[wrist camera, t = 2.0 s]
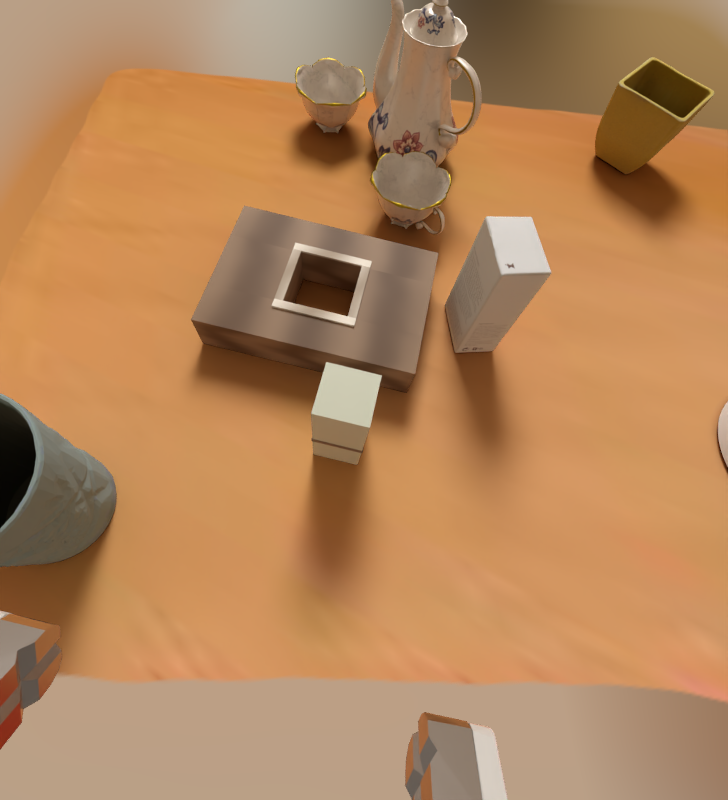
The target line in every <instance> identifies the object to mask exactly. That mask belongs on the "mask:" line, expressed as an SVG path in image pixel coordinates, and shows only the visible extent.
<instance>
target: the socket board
mask: <svg viewBox="0 0 728 800" xmlns="http://www.w3.org/2000/svg"><path fill="white" fill-rule="evenodd" d="M437 258H438V253H436V252H432V251H428V250H424V249H420V248H416V247H412V246H408V245H404V244H400V243H395V242H391V241H387V240H383V239H379V238H375V237H371V236H367V235H363V234H359V233H354V232H350V231H346V230H342V229H338V228H334V227H330V226H326V225H322V224H317V223H313V222H309V221H305V220H301V219H297V218H293V217H289V216H285V215H281V214H276V213H272V212H268V211H264V210H260V209H256V208H252V207H248V206H244V207H243V210H242V212H241V214H240V216H239V218H238V220H237V222H236V225H235V227H234V229H233V231H232V233H231V235H230V237H229V240H228V242H227V244H226V246H225V248H224V250H223V252H222V255H221V257H220V259H219V261H218V263H217V265H216V267H215V270H214V272H213V274H212V276H211V278H210V280H209V282H208V285H207V287H206V289H205V291H204V293H203V295H202V297H201V300H200V302H199V304H198V306H197V308H196V310H195V312H194V315H193V317H192V319H191V320H192V322H193V324H194V326H195V328H196V330H197V332H198V334H199V336H200V338H201V340H202V342H203V343H204V344H208V345H212V346H217V347H221V348H225V349H229V350H233V351H237V352H241V353H245V354H249V355H254V356H258V357H262V358H266V359H270V360H274V361H278V362H282V363H287V364H291V365H295V366H299V367H303V368H307V369H311V370H315V371H319V372H324V368H325V365H326V362H329V363H333V364H337V365H341V366H345V367H349V368H353V369H357V370H362V371H366V372H370V373H374V374H378V375H382V377H381V382H380V386H381V387H385V388H389V389H394V390H398V391H402V392H406V393H407V390H408V388H409V386H410V384H411V382H412V380H413V378H414V375H415V372H416V367H417V362H418V357H419V351H420V346H421V341H422V336H423V331H424V325H425V320H426V315H427V310H428V305H429V299H430V294H431V289H432V284H433V279H434V273H435V268H436V263H437ZM303 279H304V280H308V281H312V282H316V283H320V284H324V285H328V286H333V287H337V288H341V289H345V290H349V291H353V292H354V296H353V299H352V303H351V306H350V310H349V313H348V316H344V315H340V314H336V313H332V312H328V311H324V310H320V309H316V308H311V307H307V306H303V305H299V304H295V300H296V297H297V295H298V292H299V289H300V286H301V283H302V280H303Z"/></svg>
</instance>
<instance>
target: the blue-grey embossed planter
mask: <svg viewBox="0 0 728 800" xmlns="http://www.w3.org/2000/svg"><path fill="white" fill-rule="evenodd" d="M115 505H116V487H115V483H114V480H113V477H112V475H111V474H110V472H109V471H108V470H107V468H106V467H105V466H104V465H103V464H102V463H101V462H99V461H98V460H96V459H95V458H94V457H92V456H91V455H90V454H88V453H87V452H85V451H83V450H81V449H78V448H75V447H74V446H73V445H72V444H71V443H70V442H69V441H68V440H67V439H64V437H62V436H61V435H60V434H59V433H58V432H56V431H55V430H53V429H52V428H49V427H48V426H46V425H45V424H43V423H42V422H41V421H40V420H39V419H38V418H37V417H36V416H34V415H33V414H32V413H30V412H29V411H28V410H27V409H25V408H24V407H23V406H21V405H20V404H18V403H17V402H15V401H14V400H12V399H11V398H9V397H7V396H5V395H3V394H0V567H2V566H6V567H9V566H24V565H37V564H48V563H54V562H58V561H62V560H65V559H67V558H70V557H72V556H74V555H76V554H78V553H80V552H82V551H83V550H85V549H86V548H88V547H89V546H90V545H91V544H92V543H93V542H95V541H96V540H97V539H98V538H99V537H100V535H101V534H102V533H103V532H104V530H105V529H106V527H107V526H108V524H109V522H110V520H111V518H112V516H113V513H114V510H115Z"/></svg>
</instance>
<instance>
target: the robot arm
mask: <svg viewBox="0 0 728 800" xmlns="http://www.w3.org/2000/svg"><path fill="white" fill-rule="evenodd" d="M718 439H719V444H720V448H721V452H722V455H723V458H724V460H725V462H726V465H727V467H728V402H727V403H726V404H725V406H724V408H723V409H722V411H721V414H720V417H719V423H718ZM60 637H61V633H60V626H59V625H55V624H51V623H47V622H43V621H39V620H35V619H31V618H27V617H23V616H19V615H15V614H12V613H8V612H4V611H0V749H1V748H2V747H3V745H4V744H5V743H6V742H7V740H8V739H9V738H10V737H11V735H12V734H13V733H14V732H15V730H16V729H17V728H18V726H19V725H20V724H21V723H22V715H23V709H24V708H26V707H28V706H29V705H31V704H33V703H35V702H36V701H38V700H39V699H40V698H41V697H42V696H43V694H44V693H45V692H46V691H47V689H48V688H49V687H50V685H51V683H52V682H53V680H54V678H55V676H56V674H57V672H58V670H59V667H60V664H61V660H62V651H61V649H60V648H59V647H58V646H57V644H56V641H57V640H58V639H59V638H60ZM418 730H419V731H418V732H416V733H414V734H413V735H412V737H411V740H410V742H409V746H408V751H407V757H406V770H405V771H406V772H405V776H406V777H405V778H406V780H405V781H406V783H405V785H406V788H407V790H408V792H409V794H410V796H411V798H412V800H508V798H507V792H506V788H505V783H504V778H503V773H502V768H501V763H500V758H499V753H498V748H497V743H496V738H495V734H494V732H493V730H492V729H491V728H489V727H487V726H482V725H478V724H473V723H469V722H467V721H462V720H458V719H454V718H449V717H444V716H440V715H435V714H430V713H426V712H424V713H423V714H422V715H421V717H420V719H419V721H418Z"/></svg>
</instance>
